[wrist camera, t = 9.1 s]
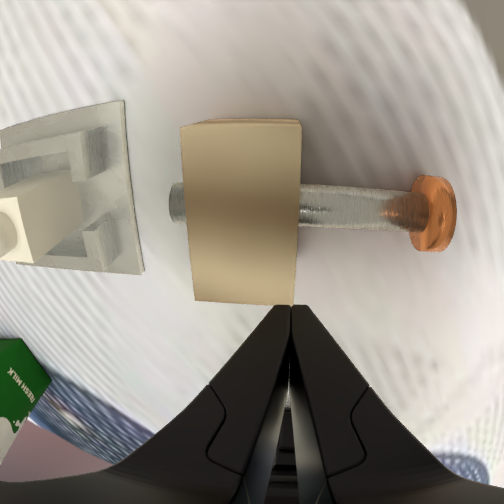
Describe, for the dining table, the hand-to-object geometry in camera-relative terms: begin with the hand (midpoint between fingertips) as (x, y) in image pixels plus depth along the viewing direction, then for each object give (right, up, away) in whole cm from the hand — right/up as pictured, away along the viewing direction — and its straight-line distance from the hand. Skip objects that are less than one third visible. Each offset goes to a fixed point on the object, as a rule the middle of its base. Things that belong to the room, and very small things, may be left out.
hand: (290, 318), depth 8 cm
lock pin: (+2, +5, +10) cm, 12 cm away
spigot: (-15, +6, +12) cm, 20 cm away
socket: (-15, +6, +12) cm, 20 cm away
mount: (-1, +5, +11) cm, 12 cm away
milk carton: (-31, -12, +23) cm, 40 cm away
